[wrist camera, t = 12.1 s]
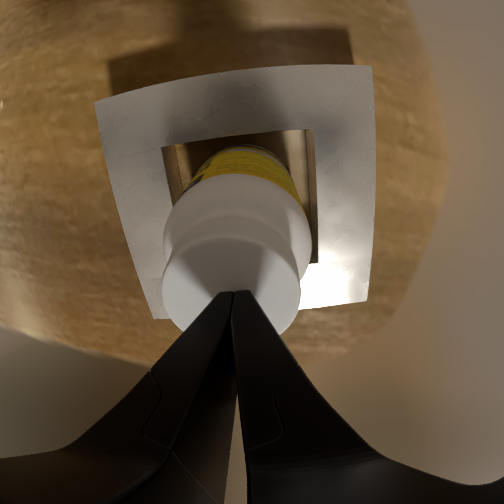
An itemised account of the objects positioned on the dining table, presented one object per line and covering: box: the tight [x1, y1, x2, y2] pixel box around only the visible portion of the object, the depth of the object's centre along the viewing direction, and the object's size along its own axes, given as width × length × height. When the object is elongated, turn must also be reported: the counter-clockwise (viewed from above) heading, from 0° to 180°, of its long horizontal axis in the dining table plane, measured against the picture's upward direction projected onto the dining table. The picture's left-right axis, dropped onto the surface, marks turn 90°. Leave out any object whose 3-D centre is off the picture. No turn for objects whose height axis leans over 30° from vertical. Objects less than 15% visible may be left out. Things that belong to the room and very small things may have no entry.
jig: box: [94, 64, 376, 319], centre depth 16 cm, size 13×13×2 cm
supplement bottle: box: [161, 144, 312, 335], centre depth 13 cm, size 5×5×10 cm
